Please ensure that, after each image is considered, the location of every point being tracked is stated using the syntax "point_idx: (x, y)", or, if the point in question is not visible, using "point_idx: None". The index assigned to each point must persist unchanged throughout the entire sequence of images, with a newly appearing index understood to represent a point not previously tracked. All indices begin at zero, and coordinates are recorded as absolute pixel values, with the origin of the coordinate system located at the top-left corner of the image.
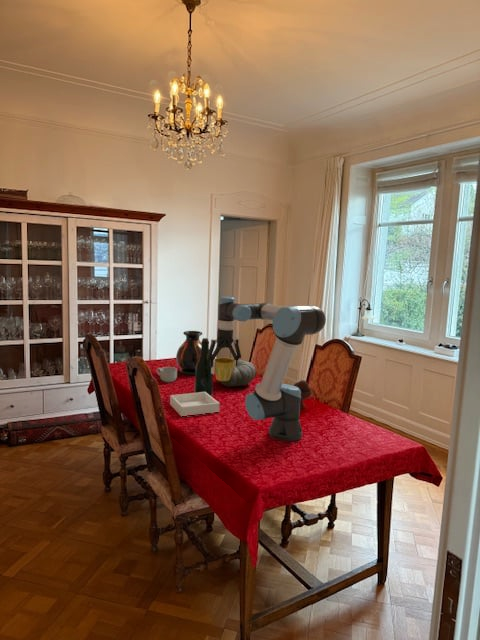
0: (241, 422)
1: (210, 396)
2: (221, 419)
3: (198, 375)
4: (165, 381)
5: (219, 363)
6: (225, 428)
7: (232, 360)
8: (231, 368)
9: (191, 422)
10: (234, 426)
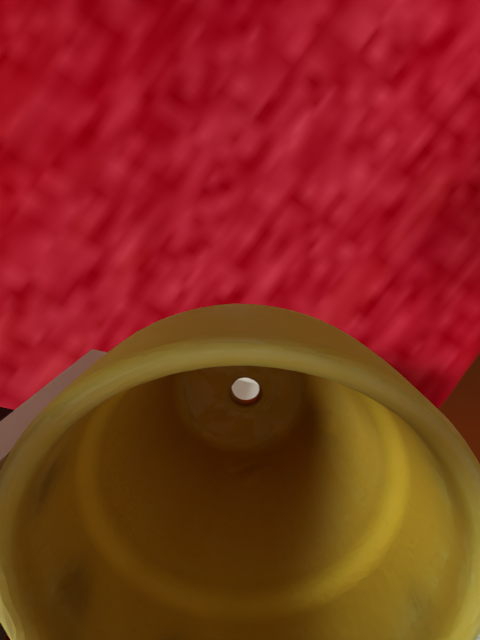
0: (205, 170)
1: None
2: (267, 263)
3: None
4: None
5: (476, 468)
6: (329, 148)
7: (20, 520)
8: (198, 309)
9: (410, 309)
10: (272, 144)
